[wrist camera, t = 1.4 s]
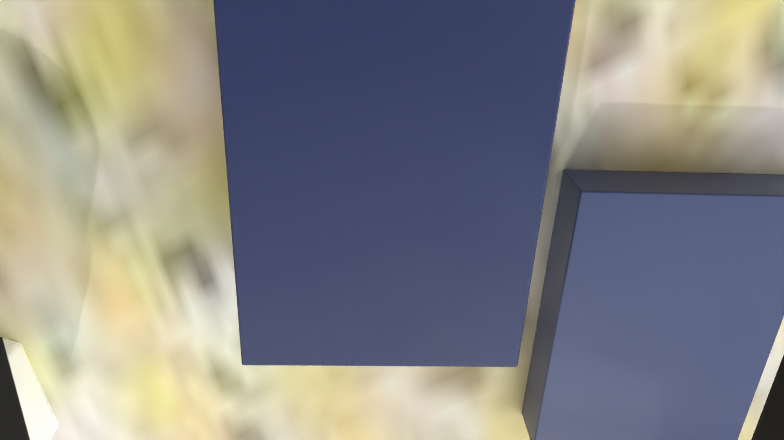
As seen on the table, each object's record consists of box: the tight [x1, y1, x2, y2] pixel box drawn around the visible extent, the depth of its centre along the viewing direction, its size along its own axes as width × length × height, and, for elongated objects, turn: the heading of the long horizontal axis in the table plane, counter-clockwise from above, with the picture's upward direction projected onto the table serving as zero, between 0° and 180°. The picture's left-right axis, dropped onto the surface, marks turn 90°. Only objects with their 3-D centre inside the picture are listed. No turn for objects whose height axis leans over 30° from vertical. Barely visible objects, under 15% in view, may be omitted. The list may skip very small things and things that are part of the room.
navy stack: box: [522, 169, 784, 440], centre depth 26 cm, size 12×9×5 cm
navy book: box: [213, 0, 575, 367], centre depth 19 cm, size 12×9×3 cm
